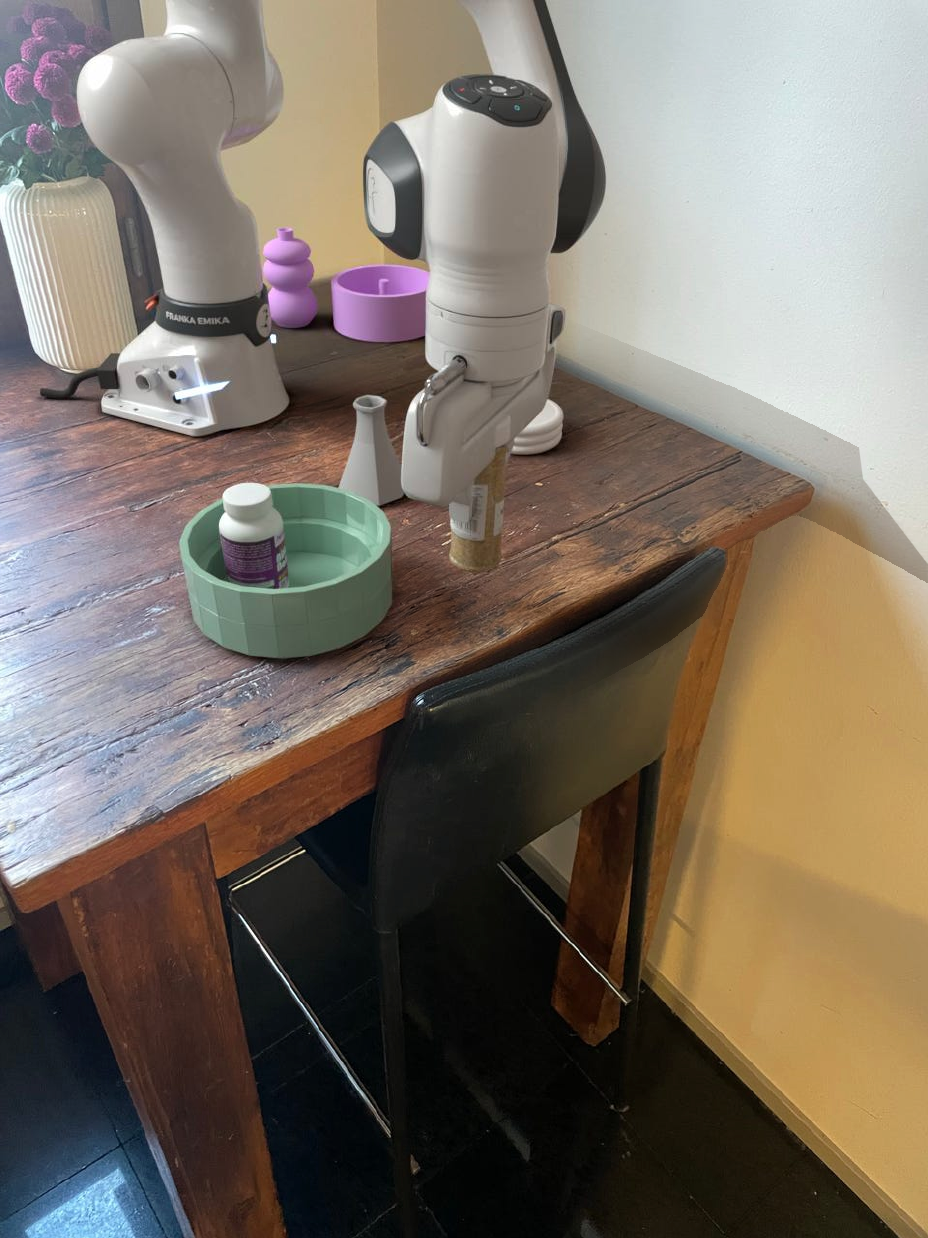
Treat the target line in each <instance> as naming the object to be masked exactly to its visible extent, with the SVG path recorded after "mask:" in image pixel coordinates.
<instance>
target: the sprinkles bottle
mask: <svg viewBox="0 0 928 1238" xmlns="http://www.w3.org/2000/svg"><path fill="white" fill-rule="evenodd" d="M510 422H511V419H510V415H507V416H506V417H505V418H504V419H503V420H502V421H501V422H500V423H499V424H498V425H497V427H496V429H495V448H496V451H495V453H496V454H495V457H494V460H493V461H492V462H491V463H490V464H489V465H488V466H487V467H486V468H485V469H484V470H483V471H482V472H481V473H480V474H479V475H478V476H477V477H476V478H475V479H474V485H473V486H472V487H471V491H472V496H473V497H477V507H476V508H477V513H476V514H475V515H474V516H473V517H472V518H471V520H470V521H469V522H468V523H462V522H458V521H455V520H452V519H451V518H450V521H449V522H450V523H449V525H450V532H451V533H450V549H449V554H448V559H449V561H450V563H451V564H452V565H453V566H454V567H455V568H457V569H459V570H462V571H464V572H469V573H473V574H474V573H478V574H479V573H486V572H490V571H492V570H494V569H495V568H497V566H499V565H500V563H501V562H502V557H503V556H502V555H503V554H502V532H503V527H504V513H505V512H504V508H505V492H506V472H505V463H506V446H507V444H508V440H509V438H510Z"/></svg>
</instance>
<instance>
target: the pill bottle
mask: <svg viewBox="0 0 928 1238" xmlns="http://www.w3.org/2000/svg"><path fill="white" fill-rule="evenodd" d="M267 486H268V485H265V484H262V483H258V482H242V483H237V484H235V485H232V486H230V487H228V488H227V489H225V490H224V491H223V493H222V498H223V505H224V510H225V513H224V514H223V515H222V517H221V519H220V522H219V531H220V537H221V543H222V549H223V555H224V561H225V567H226V574H227V580H228V582H230V583H233V584H237V585H240V586H245V587H257V588H268V589H281V588H288V586H289V575H288V565H287V555H286V546H285V536H284V527H283V521H282V517H281V515H280V514H279V512H278V511H277V510H276V509H274V508H273V507H272V505H273V501H272V495H271V491H270V489H269V488H268V487H267Z"/></svg>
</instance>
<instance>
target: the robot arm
mask: <svg viewBox="0 0 928 1238" xmlns="http://www.w3.org/2000/svg"><path fill="white" fill-rule="evenodd" d="M456 1H457V2H458V3H459V4H461V5H462V7H463V8H465V10H466V11H467V13H469V15H470V16H471V18H472V19H473V21H474V23H475V25H476V27H477V29H478V31H479V34H480V37H481V41H482V44H483V46H484V50H485V53H486V55H487V60H488V63H489V65H490V68H491V71H492V74H491V73H475V74H466V75H462V76H459V77H455V78H453V79H450V80H449V81H447V82H445V83H444V84H443V85H442V86H441V87H440V88H439V89H438V91H437V93H436V94H435V98H434V101H433V105H432V106H431V107H429V108H428V109H427V110H425V111H423V112H421V113H418V114H415V115H412V116H409V117H406V118H402V119H399V120H395V121H389V122H388V123H387V124H386V125H385V126H383V128H382V129H381V130H380V131H379V132H378V134H377V135H376V136H375V138H374V139H373V141H372V142H371V144H370V146H369V147H368V149H367V151H366V153H365V155H364V157H363V162H362V163H363V164H362V165H363V166H362V182H363V183H362V186H363V189H362V191H363V192H362V193H363V207H364V216H365V222H366V225H367V228H368V229H369V231H370V232H371V234H373V235H374V237H376V238H377V240H378V241H379V242H380V243H382V245H384V246H385V248H387V249H388V250H390V251H391V252H392V253H394V254H395V255H396V256H398V257H400V258H402V259H405V260H408V261H415V260H418V261H422V262H424V263H426V264H427V266H428V270H429V273H430V276H429V282H428V286H427V290H426V330H425V336H424V341H425V344H424V346H425V347H424V349H425V350H424V355H425V360H426V362H427V364H428V365H429V366H430V367H431V368H432V369H433V370H435V371H437V372H434V373H433V374H431V375H429V376H428V377H427V379H426V380H425V382H424V384H423V387H424V388H423V389H422V390H421V391H419V392H418V393H417V394H416V395H415V396H414V397H413V398H412V400H411V402H410V404H409V406H408V409H407V413H406V417H405V423H404V431H403V441H402V454H401V466H402V469H401V486H402V489H403V491H404V492H405V493H404V495H406V496H407V498H409V499H411V500H413V501H417V502H421V503H424V504H427V505H431V506H435V507H440V508H445V507H448V516H449V518H450V520H451V519H452V520H455V521H458V522H462V523H468V522H469V521H470V520H471V518H472V517H473V516H474V515H475V514H476V513H477V508H476V507H477V497H473V496H472V491H471V487H472V486H473V485H474V479H475V478H476V477H477V476H478V475H479V474H480V473H481V472H482V471H483V470H484V469H485V468H486V467H487V466H488V465H489V464H490V463H491V462H492V461H493V460H494V457H495V454H496V453H495V451H496V448H495V429H496V427H497V425H498V424H499V423H500V422H501V421H502V420H503V419H504V418H505V417H506V416H507V415H510V419H511V422H510V438H509V440H508V444H507V446H506V463H505V473H506V470H507V466H508V464H509V460H510V457H511V455H512V454H511V451H512V448H513V445H514V439H515V438H516V437H517V436H518V435H519V434H520V433H521V431H522V430H523V429H524V428H525V427H526V426H527V425H528V424H529V423H530V422H531V421H532V420H533V419H534V418H535V417H536V416H537V415H538V414H539V413H540V412H541V411H542V410H543V409H544V407H545V404H546V402H547V399H549V396H550V393H551V388H552V383H553V377H554V369H555V363H556V356H557V349H558V340H557V339H558V338H559V337H560V336H561V335H562V334H563V331H564V330H565V325H566V315H567V314H566V313H567V312H566V308H565V307H564V306H562V305H558V304H553V303H551V289H550V282H549V277H548V264H549V259H550V255H551V254H563V253H565V252H567V251H568V250H570V249H571V248H572V247H573V246H574V245H576V243H578V242H579V240H580V239H581V238H582V237H583V236H584V235H585V234H586V233H587V231H588V230H589V228H590V227H591V225H592V224H593V222H594V221H595V219H596V218H597V216H598V214H599V212H600V210H601V208H602V206H603V202H604V200H605V194H606V187H607V175H606V174H607V173H606V172H607V171H606V166H605V165H606V164H605V160H604V157H603V152H602V149H601V147H600V144H599V141H598V139H597V137H596V134H595V133H594V130H593V128H592V127H591V125H590V123H589V121H588V118H587V116H586V115H585V112H584V111H583V109H582V106H581V104H580V102H579V100H578V98H577V95H576V92H575V90H574V86H573V84H572V81H571V77H570V75H569V71H568V68H567V65H566V62H565V58H564V55H563V52H562V48H561V46H560V42H559V40H558V36H557V32H556V30H555V26H554V23H553V20H552V17H551V13H550V10H549V7H548V3H547V1H546V0H456ZM165 7H166V8H165V9H166V27H165V31H164V33H163V35H161V34H160V35H157V36H156V35H155V36H154V35H153V36H147V37H139V38H131V39H126V40H122V41H120V42H119V43H117V44H114V45H113V46H110V47H109V48H107V49H105V50H103V51H101V52H100V53H98V54H97V55H95V56H93V57H91V58H90V59H89V60H87V61H86V63H85V64H84V65H83V67H82V69H81V70H80V72H79V75H78V79H77V83H76V104H77V109H78V114H79V118H80V120H81V123H82V125H83V128H84V129H85V131H86V133H87V135H88V137H89V139H90V140H91V142H92V143H93V144H94V146H95V147H96V148H97V150H98V151H99V152H101V153H102V154H103V156H105V157H106V158H107V159H109V160H110V161H112V162H113V163H114V164H116V165H117V166H118V167H119V168H120V169H121V170H122V171H123V172H124V173H125V174H126V176H127V177H128V179H129V180H130V182H131V183H132V185H133V186H134V188H135V190H136V192H137V194H138V195H139V197H140V200H141V203H142V204H143V206H144V209H145V211H146V214H147V217H148V219H149V222H150V225H151V229H152V233H153V239H154V243H155V247H156V252H157V256H158V257H157V258H158V261H159V268H160V274H161V278H162V285H163V287H162V288H159V289H158V290H156V291H155V292H153V296H151V297H149V298H147V299H146V300H144V303H145V304H146V303H148V304H147V306H146V307H145V310H146V311H150V310H152V309H154V308H156V313H155V318H154V321H153V322H151V324H149V325H148V326H147V327H146V328H145V329H144V330H143V331H141V333H139V335H137V336H136V337H135V338H134V339H133V340H132V341H131V342H129V343H128V344H127V345H126V346H125V347H124V348H123V350H122V351H121V352H119V353H117V352H116V353H115V352H111V353H110V354H109V355H108V356H107V357H106V358H105V359H104V361H103V362H101V364H100V365H99V366H98V367H94V368H91V369H90V368H89V369H86V370H83V371H81V372H79V373H77V374H75V375H74V376H73V377H72V378H71V380H70V381H69V384H68V387H67V388H66V389H63V390H60V389H59V390H58V389H52V388H46V387H41V388H40V389H39V394H40V396H41V397H47V398H51V399H58V400H60V399H62V400H63V399H67V398H68V399H69V398H70V397H72V396H74V395H75V394H76V392H77V390H78V388H79V386H80V384H81V383H82V382H84V381H86V380H88V379H91V378H95V377H97V378H98V383H99V389H101V390H107V391H106V392H105V393H104V394H103V396H102V398H101V401H100V404H101V405H100V406H101V411H102V413H105V414H108V415H111V416H114V417H119V418H123V419H127V420H130V421H134V422H137V423H140V424H145V425H149V426H153V427H156V428H161V429H164V430H168V431H172V432H175V433H179V434H182V435H186V436H190V437H203V436H207V435H211V434H214V433H217V432H220V431H224V430H230V429H231V430H232V429H237V428H244V427H245V428H246V427H249V426H254V425H258V424H261V423H264V422H266V421H269V420H271V419H273V418H275V417H277V416H278V415H280V414H282V413H283V412H284V411H285V410H286V409H287V408H288V406H289V403H290V397H289V395H288V393H287V390H286V388H285V385H284V383H283V380H282V377H281V374H280V371H279V366H278V363H277V360H276V356H275V351H274V348H273V344H276V343H277V336H276V334H272V318H271V313H270V307H269V299H268V293H269V292H268V287H267V285H266V284H265V283H264V282H263V281H264V280H263V279H264V278H263V269H262V261H261V251H260V243H259V233H258V224H257V220H256V217H255V215H254V212H253V211H252V209H251V208H250V207H249V206H248V205H247V204H246V203H245V202H243V201H242V200H240V199H239V198H237V197H236V195H235V193H233V191H232V188H231V186H230V184H229V182H228V179H227V176H226V174H225V171H224V167H223V164H222V160H221V159H222V158H221V151H225V150H228V149H229V150H230V149H232V148H235V147H238V146H242V145H245V144H248V143H249V142H251V141H252V140H254V139H255V138H257V137H258V136H259V135H261V134H262V133H263V132H264V131H265V130H266V129H268V128H269V127H270V126H271V125H273V123H275V121H276V120H277V119H278V117H279V114H280V113H281V110H282V107H283V103H284V97H285V96H284V87H285V86H284V81H283V80H284V79H283V76H282V72H281V69H280V67H279V64H278V62H277V60H276V58H275V57H274V55H273V54H272V52H271V50H270V49H269V46H268V42H267V37H266V29H265V28H266V27H265V21H264V9H263V8H264V7H263V0H165Z"/></svg>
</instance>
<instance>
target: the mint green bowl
mask: <svg viewBox="0 0 928 1238" xmlns="http://www.w3.org/2000/svg"><path fill="white" fill-rule="evenodd" d="M266 486H267V487H268V488H269V489H270V491H271V495H272V501H273V505H272V507H273V508H274V509H276V510H277V511H278V512H279V514H280V515H281V517H282V521H283V527H284V536H285V546H286V555H287V565H288V575H289V586H288V588H281V589H268V588H257V587H245V586H240V585H237V584H233V583H230V582H228V580H227V574H226V567H225V561H224V555H223V549H222V543H221V537H220V531H219V522H220V519H221V517H222V515H223V514H224V513H225V510H224V505H223V497H222V498H220V499H218V500H216V501H215V502H213V503H211V504H209V505H208V506H206V507H205V508H202V509H201V510H199V511H198V513H197V514H195V515H194V517H192V519H191V520H189V521H188V523H186V525H185V526H184V529H183V531H182V534H181V536H180V538H179V542H178V544H179V551H180V557H181V563H182V568H183V574H184V579H185V584H186V589H187V595H188V599H189V605H190V609H191V613H192V614H191V615H192V619H193V622H194V623H195V624H196V625H197V627H198V628H199V629H200V631H201V632H202V634H203V635H204V636H205V637H207V638H208V639H210V640H212V641H213V642H214V643H216V644H218V645H219V646H221V647H222V648H225V649H227V650H230V651H234V652H237V653H239V654H244V655H246V656H251V657H262V658H271V659H289V658H300V657H301V658H302V657H311V656H316V655H319V654H323V653H327V652H330V651H334V650H339V649H341V648H344V647H345V646H347V645H349V644H351V643H353V642H355V641H357V640H359V639H361V638H364V637H365V636H366V635H368V634H369V633H370V632H371V631H372V630H373V629H375V628H376V627H377V626H378V625H379V624H380V623H381V622H383V620H384V619H385V616H386V615H387V613H388V611H389V609H390V608H391V606H392V604H393V593H394V574H393V545H392V544H393V543H392V540H393V539H392V538H393V537H392V526H391V524H390V522H389V519H388V518H387V516H386V513H385V512H384V511H383V510H382V509H381V508H380V507H379V506H378V505H375V504H374V503H373V502H371V501H370V500H368V499H366V498H364V497H362V496H360V495H358V494H355V493H353V492H351V491H348V490H344V489H340V488H339V487H336V486H335V487H334V486H331V485H326V484H315V483H304V482H303V483H302V482H296V483H294V482H293V483H279V484H269V485H266Z"/></svg>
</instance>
